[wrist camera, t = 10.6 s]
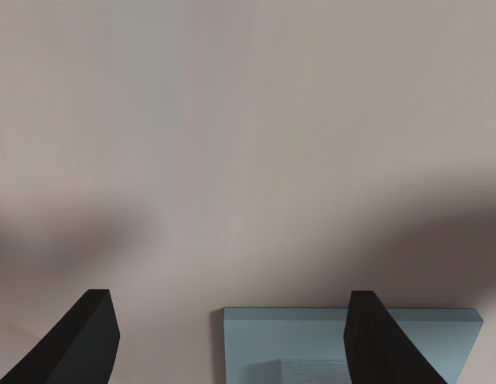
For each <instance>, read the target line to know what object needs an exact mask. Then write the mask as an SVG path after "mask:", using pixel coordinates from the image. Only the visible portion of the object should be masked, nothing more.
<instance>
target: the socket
mask: <svg viewBox="0 0 496 384" xmlns="http://www.w3.org/2000/svg"><path fill="white" fill-rule="evenodd" d="M279 384H352V382H351V378H350V374H349V370H348V365H347V359H281V365H280V378H279Z"/></svg>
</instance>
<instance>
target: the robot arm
mask: <svg viewBox="0 0 496 384" xmlns="http://www.w3.org/2000/svg"><path fill="white" fill-rule="evenodd" d="M119 340H120V332H119V328H118V324H117V320H116V315H115V311H114V307H113V303H112V299H111V295H110V291H109V289H88V290H87V291H86V292H85V293H84V294H83V296H82V297H81V298H80V299H79V300H78V301H77V302H76V303H75V304H74V305H73V306H72V307H71V309H70V310H69V311H68V312H67V313H66V314H65V315H64V316H63V317H62V318H61V319H60V321H59V322H58V323H57V324H56V325H55V326H54V327H53V328H52V329H51V330H50V331H49V332H48V333H47V334H46V335H45V336H44V337H43V338H42V340H41V341H40V342H39V343H38V344H37V345H36V346H35V347H34V348H33V349H32V350H31V351H30V352H29V353H28V354H27V355H26V356H25V357H24V358H23V359H22V360H21V361H20V362H19V363H18V364H17V365H15V366H14V367H13V368H12V369H11V370H10V371H9V372H8V373H7V374H6V375H5V376H4V377H3V378H2V379H1V380H0V384H108V381H109V378H110V375H111V373H112V370H113V366H114V362H115V358H116V353H117V349H118V344H119ZM343 340H344V347H345V353H346V359H347V365H348V370H349V374H350V378H351V382H352V384H448V383H447V382H446V381H445V380H444V379H443V377H442V376H441V375H440V374H439V373H438V372H437V371H436V370H435V369H434V367H433V366H432V365H431V364H430V363H429V362H428V361H427V359H426V358H425V357H424V356H423V355H422V353H421V352H420V351H419V350H418V349H417V347H416V346H415V345H414V344H413V343H412V341H411V340H410V339H409V338H408V336H407V335H406V334H405V333H404V331H403V330H402V329H401V327H400V326H399V325H398V324H397V322H396V321H395V320H394V318H393V317H392V316H391V314H390V313H389V312H388V310H387V309H386V308H385V306H384V305H383V304H382V302H381V301H380V299H379V298H378V297H377V295H376V294H375V293H374V292H373V291H352V292H351V298H350V303H349V308H348V313H347V318H346V324H345V329H344V334H343Z"/></svg>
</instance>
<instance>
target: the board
mask: <svg viewBox="0 0 496 384" xmlns="http://www.w3.org/2000/svg"><path fill="white" fill-rule="evenodd" d="M387 310H388V312H389V313H390V314H391V316H392V317H393V318H394V320H395V321H396V322H397V324H398V325H399V326H400V327H401V329H402V330H403V331H404V333H405V334H406V335H407V336H408V338H409V339H410V340H411V341H412V343H413V344H414V345H415V346H416V347H417V349H418V350H419V351H420V352H421V353H422V355H423V356H424V357H425V358H426V359H427V361H428V362H429V363H430V364H431V365H432V366H433V367H434V369H435V370H436V371H437V372H438V373H439V374H440V375H441V376H442V377H443V379H444V380H445V381H446V382H447V383H448V384H456V382H457V380H458V377H459V375H460V373H461V371H462V369H463V366H464V364H465V362H466V360H467V358H468V355H469V353H470V351H471V349H472V347H473V344H474V342H475V340H476V338H477V336H478V333H479V331H480V329H481V327H482V325H483V322H484V321H483V319H482V318H481V316H480V315H479V313H478V312H477V310H476V309H387ZM347 313H348V308H224V343H225V366H226V384H279V378H280V365H281V359H346V353H345V347H344V340H343V334H344V329H345V324H346V318H347Z"/></svg>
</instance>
